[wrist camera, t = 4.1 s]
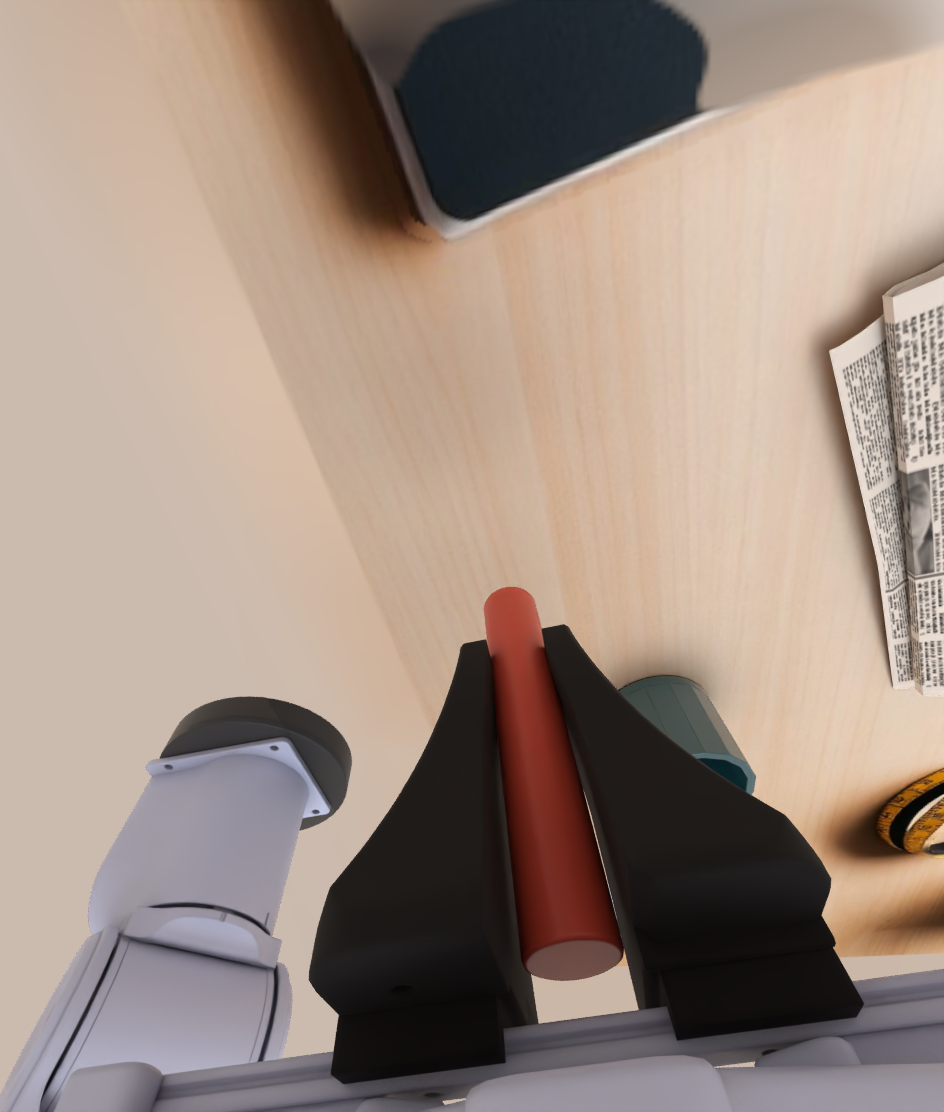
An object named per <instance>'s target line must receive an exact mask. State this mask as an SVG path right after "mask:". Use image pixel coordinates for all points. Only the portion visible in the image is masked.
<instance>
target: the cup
mask: <svg viewBox="0 0 944 1112" xmlns="http://www.w3.org/2000/svg"><path fill="white" fill-rule="evenodd" d="M619 692H620V693H621V694H622V695H623V696H624V697H625V698H626V699H627V700H628V701H629V702H630V703H631V704H632V705H633V706H634V707H635V708H636V709H637V710H638V711H639V712H640V713H641V714H642V715H643V716H645V717H646V718H647V719H648V720H649V721H650V722H651V723H652V724H654V725H655V726H656V727H657V728H658V729H659V730H661V731H662V732H663V733H664V734H665V735H667V736H668V737H669V738H670V739H672V740H673V741H674V742H675V743H676V744H678V745H679V746H680V747H682V748H683V749H684V750H686V751H687V752H689V753H690V754H691V755H693V756H694V757H695V758H697V759H698V760H699V761H701V762H702V763H704V764H705V765H706V766H708V767H709V768H710V769H712V770H713V771H715V772H716V773H718V774H719V775H721V776H722V777H724V778H725V779H727V780H728V781H730V782H731V783H733V784H734V785H736V786H737V787H739V788H741V789H742V790H744V791H745V792H747V793H749V794H750V795H752V793H753V792H754V786H755V780H756V775H755V774H754V772H753V770H752V769H751V767H750V765H749V764H748V762H747V760H746V759H745V757H744V755H743V754H742V752H741V750H740V749H739V747H738V745H737V744H736V742H735V740H734V739H733V737H732V735H731V734H730V732H729V730H728V729H727V727H726V725H725V724H724V722H723V720H722V719H721V717H720V715H719V714H718V712H717V710H716V709H715V707H714V705H713V704H712V702H711V701H710V699H709V697H708V696H707V694H706V692H705V691H704V690H703V688H701V687H700V686H699V685H698V684H696V683H695V682H693V681H691V680H689V679H686V678H682V677H677V676H656V677H650V678H646V679H642V680H639V681H637V682H634V683H632V684H630V685H628V686H626V687H624V688H623V689H621V690H619Z"/></svg>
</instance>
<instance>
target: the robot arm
mask: <svg viewBox="0 0 944 1112" xmlns="http://www.w3.org/2000/svg"><path fill="white" fill-rule="evenodd" d="M541 630H542V636H543V641H544V647H545V651H546V655H547V659H548V663H549V667H550V671H551V675H552V678H553V680H554V683H555V686H556V689H557V692H558V695H559V698H560V702H561V705H562V709H563V713H564V717H565V721H566V725H567V729H568V732H569V736H570V740H571V744H572V748H573V752H574V756H575V760H576V763H577V767H578V771H579V775H580V779H581V783H582V786H583V789H584V792H585V795H586V798H587V802H588V805H589V808H590V812H591V815H592V819H593V823H594V827H595V831H596V835H597V839H598V843H599V847H600V851H601V855H602V859H603V863H604V867H605V871H606V876H607V880H608V884H609V888H610V892H611V896H612V900H613V904H614V908H615V912H616V916H617V921H618V925H619V929H620V933H621V937H622V941H623V945H624V950H625V954H626V958H627V962H628V966H629V970H630V975H631V979H632V983H633V987H634V991H635V996H636V1000H637V1004H638V1008H639V1010H637V1011H630V1012H623V1013H615V1014H608V1015H600V1016H593V1017H585V1018H578V1019H571V1020H564V1021H556V1022H549V1023H542V1024H538V1018H537V1011H536V1004H535V998H534V991H533V984H532V978H531V974H530V973H529V972H527V971H526V970H525V968H524V966H523V964H522V962H521V955H520V946H519V936H518V927H517V917H516V908H515V898H514V889H513V879H512V870H511V861H510V851H509V842H508V832H507V823H506V813H505V804H504V794H503V785H502V776H501V766H500V757H499V747H498V738H497V728H496V719H495V703H494V682H493V673H492V664H491V656H490V653H489V649H488V645H487V641H486V640H480V641H475V642H470V643H465V644H463V645H462V647H461V649H460V654H459V659H458V663H457V667H456V670H455V674H454V677H453V680H452V684H451V687H450V689H449V692H448V695H447V698H446V701H445V704H444V706H443V709H442V711H441V714H440V716H439V719H438V721H437V723H436V726H435V728H434V730H433V733H432V735H431V737H430V739H429V741H428V744H427V746H426V748H425V750H424V752H423V754H422V756H421V758H420V759H419V761H418V763H417V765H416V767H415V769H414V771H413V772H412V774H411V776H410V778H409V779H408V781H407V783H406V784H405V786H404V788H403V789H402V791H401V793H400V794H399V796H398V798H397V799H396V801H395V802H394V804H393V805H392V807H391V808H390V810H389V812H388V813H387V814H386V816H385V817H384V819H383V820H382V821H381V823H380V824H379V826H378V827H377V829H376V830H375V831H374V833H373V834H372V835H371V837H370V838H369V840H368V841H367V842H366V844H365V845H364V846H363V848H362V849H361V850H360V852H359V853H358V854H357V855H356V856H355V858H354V859H353V860H352V861H351V862H350V864H349V865H348V866H347V868H346V869H345V870H344V871H343V872H342V874H341V875H340V876H339V877H338V879H337V880H336V881H335V882H334V883H333V884H332V886H331V887H330V889H329V892H328V895H327V898H326V901H325V905H324V908H323V911H322V914H321V918H320V921H319V925H318V928H317V933H316V938H315V943H314V949H313V954H312V960H311V965H310V970H309V981H310V983H311V984H312V986H313V988H314V989H315V991H316V992H317V993H318V994H319V995H320V996H321V997H322V998H323V999H324V1000H325V1001H326V1002H327V1003H328V1004H329V1005H330V1006H331V1007H332V1008H333V1009H334V1010H335V1011H336V1012H337V1013H338V1014H339V1017H338V1024H337V1032H336V1038H335V1045H334V1052H327V1053H320V1054H313V1055H305V1056H298V1057H290V1058H283V1059H281V1058H282V1055H283V1051H284V1048H285V1044H286V1040H287V1035H288V1030H289V1025H290V1019H291V1011H292V988H291V984H290V981H289V974H288V971H287V968H286V966H285V965H284V964H282V963H279V962H277V960H278V955H279V951H280V947H281V943H282V941H281V940H280V939H277V938H274V937H272V935H273V931H274V927H275V923H276V919H277V915H278V911H279V908H280V904H281V900H282V896H283V892H284V888H285V884H286V880H287V876H288V872H289V869H290V865H291V861H292V857H293V853H294V850H295V846H296V842H297V838H298V834H299V830H300V826H301V823H302V819H303V818H306V817H312V816H318V815H324V814H327V813H329V812H330V808H331V805H330V803H329V802H328V800H327V798H326V797H325V795H324V793H323V792H322V790H321V789H320V787H319V785H318V784H317V782H316V781H315V779H314V777H313V776H312V774H311V772H310V771H309V769H308V768H307V766H306V764H305V763H304V761H303V759H302V758H301V756H300V755H299V753H298V751H297V750H296V748H295V746H294V745H293V743H292V742H291V740H290V739H289V738H287V737H278V738H272V739H267V740H261V741H256V742H250V743H245V744H239V745H233V746H228V747H222V748H217V749H211V750H206V751H200V752H194V753H189V754H183V755H178V756H172V757H167V758H161V759H156V760H151V761H150V762H149V763H148V764H147V766H146V770H147V771H148V772H149V774H150V775H151V776H152V778H151V779H150V781H149V783H148V785H147V786H146V788H145V790H144V792H143V793H142V795H141V797H140V799H139V800H138V802H137V804H136V805H135V807H134V809H133V811H132V812H131V814H130V816H129V818H128V819H127V821H126V823H125V825H124V827H123V828H122V830H121V832H120V834H119V835H118V837H117V839H116V840H115V842H114V844H113V846H112V847H111V849H110V851H109V853H108V854H107V856H106V858H105V860H104V861H103V863H102V865H101V867H100V869H99V871H98V873H97V876H96V878H95V881H94V884H93V888H92V891H91V896H90V901H89V909H88V921H89V926H90V930H91V933H92V936H90V937H89V938H87V940H86V941H85V942H84V943H83V945H82V946H81V948H80V949H79V951H78V953H77V954H76V956H75V957H74V959H73V961H72V962H71V964H70V966H69V968H68V969H67V971H66V973H65V974H64V976H63V978H62V980H61V981H60V983H59V985H58V987H57V988H56V990H55V992H54V993H53V995H52V997H51V999H50V1001H49V1003H48V1005H47V1006H46V1008H45V1010H44V1011H43V1013H42V1015H41V1017H40V1019H39V1020H38V1022H37V1024H36V1026H35V1028H34V1030H33V1032H32V1033H31V1035H30V1037H29V1039H28V1041H27V1043H26V1045H25V1047H24V1049H23V1050H22V1052H21V1054H20V1056H19V1058H18V1060H17V1062H16V1064H15V1066H14V1068H13V1070H12V1072H11V1074H10V1076H9V1078H8V1080H7V1082H6V1084H5V1086H4V1088H3V1090H2V1093H1V1095H0V1112H944V969H940V970H932V971H925V972H918V973H910V974H903V975H895V976H889V977H881V978H873V979H867V980H859V981H852V980H851V979H850V977H849V975H848V973H847V972H846V970H845V968H844V966H843V964H842V963H841V961H840V959H839V957H838V956H837V954H836V952H835V950H834V949H833V947H835V944H836V942H835V939H834V936H833V935H832V933H831V931H830V929H829V928H828V926H827V924H826V923H825V921H824V919H823V917H822V916H821V915H822V912H823V909H824V906H825V904H826V901H827V898H828V895H829V892H830V888H831V877H830V876H829V874H828V872H827V871H826V869H825V867H824V865H823V863H822V862H821V860H820V858H819V857H818V856H817V854H816V853H815V851H814V850H813V849H812V847H811V846H810V845H809V844H808V842H807V841H806V840H805V838H804V837H803V836H802V835H801V833H800V832H799V831H798V830H797V828H796V827H795V826H794V825H793V824H792V822H791V821H790V820H789V819H788V818H787V817H786V816H785V815H784V814H783V813H781V812H779V811H777V810H776V809H774V808H772V807H770V806H769V805H767V804H765V803H764V802H762V801H760V800H758V799H757V798H755V797H754V796H752V795H750V794H749V793H747V792H745V791H744V790H742V789H741V788H739V787H737V786H736V785H734V784H733V783H731V782H730V781H728V780H727V779H725V778H724V777H722V776H721V775H719V774H718V773H716V772H715V771H713V770H712V769H710V768H709V767H708V766H706V765H705V764H704V763H702V762H701V761H699V760H698V759H697V758H695V757H694V756H693V755H691V754H690V753H689V752H687V751H686V750H684V749H683V748H682V747H680V746H679V745H678V744H676V743H675V742H674V741H673V740H672V739H670V738H669V737H668V736H667V735H665V734H664V733H663V732H662V731H661V730H659V729H658V728H657V727H656V726H655V725H654V724H652V723H651V722H650V721H649V720H648V719H647V718H646V717H645V716H643V715H642V714H641V713H640V712H639V711H638V710H637V709H636V708H635V707H634V706H633V705H632V704H631V703H630V702H629V701H628V700H627V699H626V698H625V697H624V696H623V695H622V694H621V693H620V692H619V691H618V690H617V689H616V688H615V687H614V686H613V685H612V684H611V682H610V681H609V680H608V679H607V678H606V677H605V676H604V674H603V673H602V672H601V671H600V670H599V669H598V668H597V666H596V665H595V664H594V663H593V662H592V660H591V659H590V658H589V657H588V655H587V654H586V653H585V651H584V650H583V649H582V647H581V646H580V644H579V643H578V642H577V640H576V639H575V637H574V635H573V634H572V632H571V630H570V629H569V627H568V626H566V625H564V624H563V625H558V626H553V627H548V628H543V629H541ZM754 1061H756V1062H755V1067H733V1068H714V1066H722V1065H730V1064H738V1063H746V1062H754ZM461 1098H466V1100H464V1101H460V1102H456V1103H452V1104H448V1105H444V1103H443V1102H442V1101H445V1100H453V1099H461Z"/></svg>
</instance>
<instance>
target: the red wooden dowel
mask: <svg viewBox="0 0 944 1112" xmlns="http://www.w3.org/2000/svg"><path fill="white" fill-rule="evenodd" d="M484 615H485V625H486V634H487V643H488V649H489V653H490V656H491V664H492V673H493V682H494V703H495V719H496V728H497V738H498V747H499V757H500V766H501V776H502V785H503V794H504V804H505V813H506V823H507V832H508V842H509V851H510V861H511V870H512V879H513V889H514V898H515V908H516V917H517V927H518V936H519V946H520V955H521V962H522V964H523V966H524V968H525V970H526V971H527V972H529V973H530V974H532V975H534V976H537V977H540V978H544V979H550V980H560V981H566V980H567V981H568V980H579V979H584V978H589V977H592V976H595V975H599V974H601V973H604V972H605V971H608V970H609V969H611V968H613V967H614V966H616V965H617V964H618V963H619V962H620V961H621V959H622V958H623V953H624V946H623V942H622V938H621V934H620V930H619V926H618V922H617V919H616V915H615V911H614V907H613V903H612V899H611V895H610V891H609V888H608V884H607V880H606V876H605V872H604V868H603V864H602V860H601V856H600V853H599V849H598V845H597V841H596V837H595V833H594V829H593V825H592V822H591V818H590V814H589V810H588V806H587V802H586V798H585V794H584V791H583V787H582V783H581V779H580V775H579V771H578V767H577V763H576V760H575V756H574V752H573V748H572V744H571V740H570V736H569V732H568V729H567V725H566V721H565V717H564V713H563V709H562V705H561V702H560V698H559V695H558V692H557V689H556V686H555V683H554V680H553V678H552V675H551V671H550V667H549V663H548V659H547V655H546V651H545V647H544V641H543V636H542V630H541V629H542V628H541V624H540V620H539V616H538V612H537V608H536V605H535V601H534V599H533V597H532V596H531V595H530V594H529V593H528V592H527V591H525V590H523V589H521V588H518V587H505V588H501V589H499V590H497V591H495V592H494V593H492V594H491V595H490V596H489V597H488V599H487V601H486V602H485V605H484Z"/></svg>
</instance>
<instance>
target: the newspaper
mask: <svg viewBox="0 0 944 1112" xmlns="http://www.w3.org/2000/svg"><path fill="white" fill-rule="evenodd" d="M882 298H883V308H884V314H883V315H882V316H880V317H879V318H878V319H877V320H875V321H874V322H873V323H872V324H870V325H869V326H868V327H867V328H865V329H864V330H863V331H862V332H860V333H859V334H857V335H856V336H854V337H853V338H851V339H849V340H848V341H846V342H845V343H843V344H842V345H840V346H839V347H836V348H834V349H831V350H829V353H830V357H831V361H832V366H833V370H834V375H835V379H836V383H837V388H838V392H839V397H840V401H841V405H842V410H843V414H844V419H845V423H846V427H847V432H848V436H849V441H850V445H851V449H852V454H853V458H854V463H855V467H856V472H857V476H858V480H859V485H860V489H861V494H862V498H863V502H864V507H865V511H866V516H867V520H868V524H869V529H870V533H871V538H872V542H873V546H874V551H875V555H876V560H877V564H878V571H879V579H880V587H881V595H882V602H883V610H884V618H885V626H886V634H887V642H888V650H889V658H890V666H891V674H892V682H893V689H906V688H914V687H915V689H916V690H917V691H918V692H919V693H920V694H922V695H923V696H944V263H942V264H940V265H938V266H937V267H935V268H933V269H931V270H929V271H927V272H925V273H923V274H920V275H918V276H915V277H913V278H911V279H908V280H906V281H903V282H901V283H899V284H896V285H894V286H893V287H892V288H891V289H889V290H888V291H887V292H886V293H885V294H884V295H883V296H882Z"/></svg>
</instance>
